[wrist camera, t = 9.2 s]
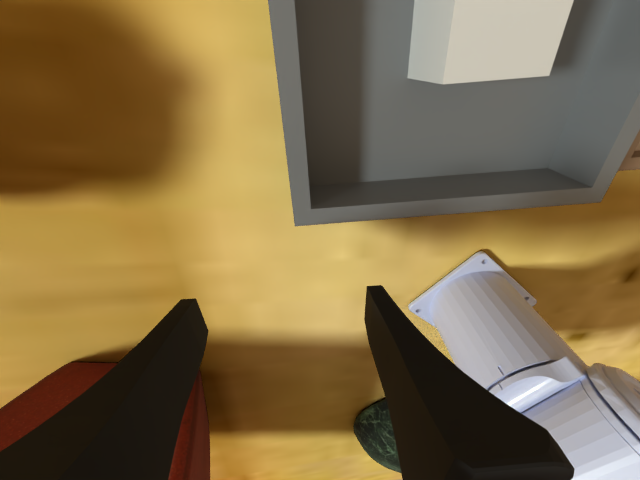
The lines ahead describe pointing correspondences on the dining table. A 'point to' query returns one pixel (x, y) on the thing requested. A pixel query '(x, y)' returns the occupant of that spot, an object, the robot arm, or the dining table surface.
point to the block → (485, 39)
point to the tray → (632, 156)
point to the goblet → (378, 435)
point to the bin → (447, 116)
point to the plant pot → (76, 377)
